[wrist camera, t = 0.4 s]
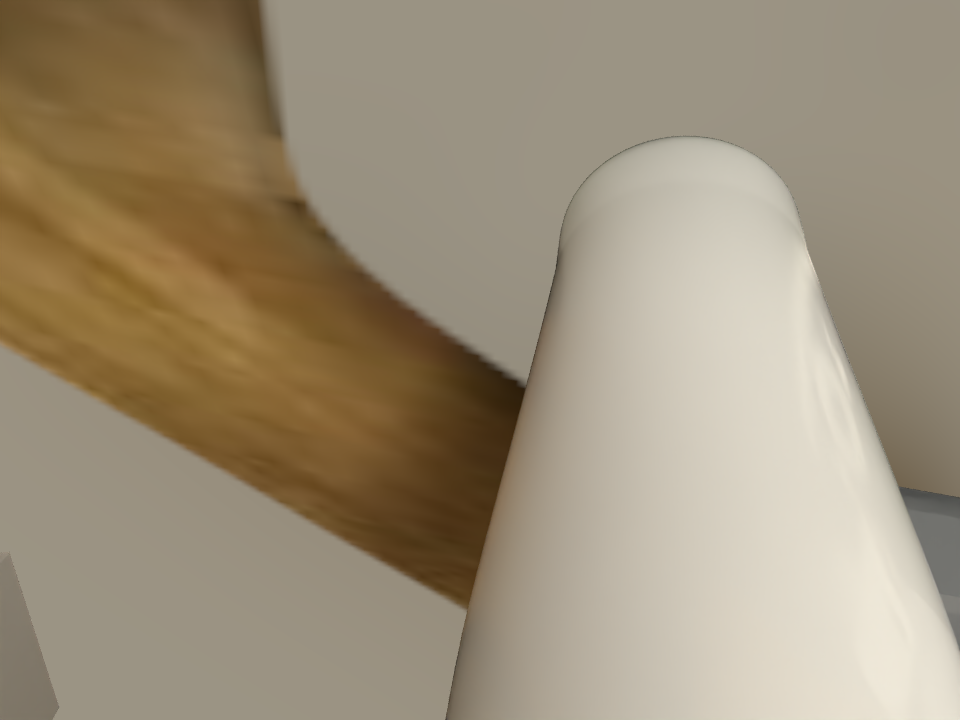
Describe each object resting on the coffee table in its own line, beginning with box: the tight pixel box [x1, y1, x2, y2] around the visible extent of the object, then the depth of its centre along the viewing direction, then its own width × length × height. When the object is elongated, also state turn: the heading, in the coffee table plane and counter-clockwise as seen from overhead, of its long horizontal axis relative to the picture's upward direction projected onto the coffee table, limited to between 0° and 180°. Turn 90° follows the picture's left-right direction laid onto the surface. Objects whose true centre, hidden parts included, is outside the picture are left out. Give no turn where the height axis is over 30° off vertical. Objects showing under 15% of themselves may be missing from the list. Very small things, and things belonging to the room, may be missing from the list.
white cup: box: [446, 136, 960, 720], centre depth 14 cm, size 7×7×15 cm
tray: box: [899, 487, 960, 648], centre depth 28 cm, size 13×13×4 cm
